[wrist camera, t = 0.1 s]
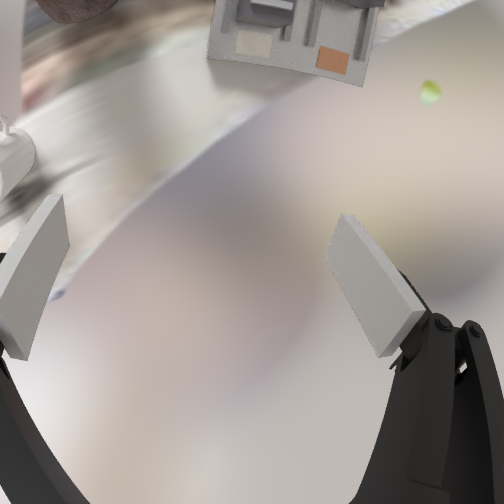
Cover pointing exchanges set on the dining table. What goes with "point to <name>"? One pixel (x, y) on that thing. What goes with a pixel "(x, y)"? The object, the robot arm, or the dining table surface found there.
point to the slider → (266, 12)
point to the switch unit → (299, 39)
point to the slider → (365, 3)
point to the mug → (14, 155)
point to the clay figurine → (74, 9)
